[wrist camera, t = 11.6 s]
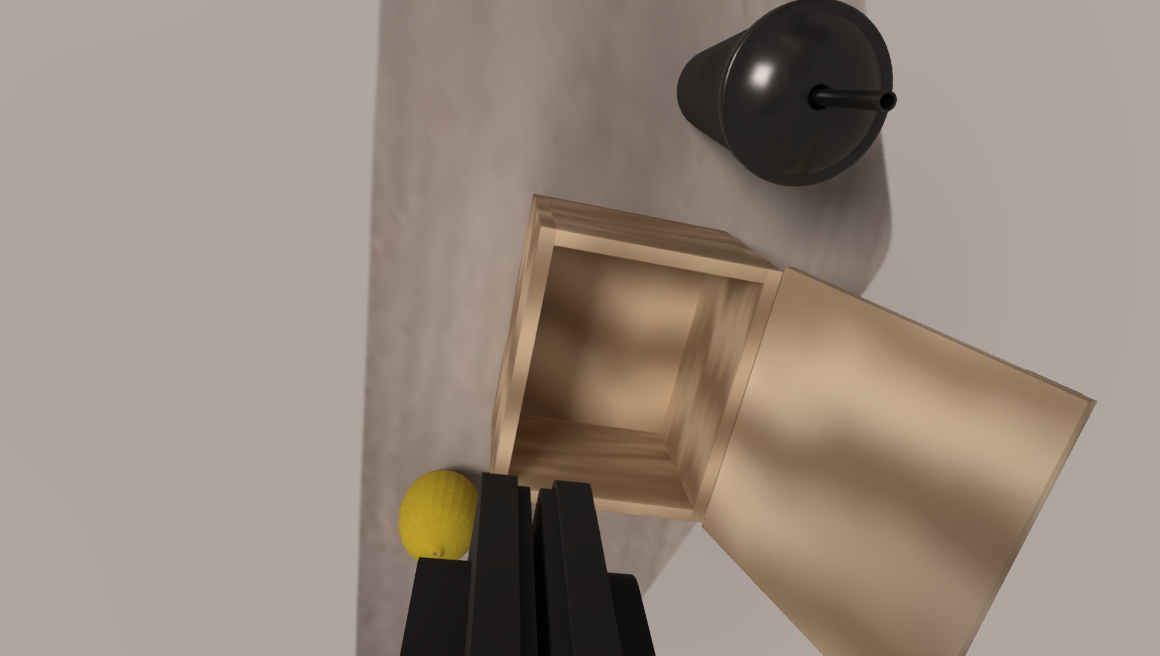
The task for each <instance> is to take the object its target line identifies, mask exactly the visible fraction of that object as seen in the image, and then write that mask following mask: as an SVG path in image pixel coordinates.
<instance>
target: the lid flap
mask: <svg viewBox="0 0 1160 656" xmlns="http://www.w3.org/2000/svg"><path fill="white" fill-rule="evenodd" d="M1096 402H1097V401H1095V400H1093V399H1091V398H1088V397H1086V396H1084V395H1083V394H1081V393H1079V392H1077V391H1074V390H1072V389H1070V388H1067V387H1065V386H1063V385H1060V384H1058V383H1056V382H1054V381H1051V380H1049V379H1047V378H1044V377H1043V376H1040V375H1038V374H1036V373H1033V372H1031V371H1029V370H1025V369H1023V368H1021V367H1018V366H1016V365H1014V364H1011V363H1009V362H1007V361H1005V360H1002V359H1000V358H998V357H995V356H993V355H991V354H989V353H986V352H984V351H982V350H980V349H978V348H975V347H973V346H971V345H968V344H966V343H964V342H962V341H959V340H957V339H955V338H952V337H950V336H948V335H946V334H943V333H941V332H939V331H937V330H934V329H932V328H930V327H927V326H925V325H923V324H921V323H919V322H916V321H914V320H912V319H909V318H907V317H905V316H902V315H900V314H898V313H896V312H893V311H891V310H889V309H887V308H884V307H882V306H880V305H877V304H875V303H873V302H871V301H869V300H866V299H864V298H862V297H860V296H857V295H855V294H853V293H850V292H848V291H846V290H844V289H841V288H839V287H837V286H835V285H832V284H830V283H828V282H826V281H823V280H821V279H819V278H816V277H814V276H812V275H810V274H807V273H805V272H803V271H801V270H798V269H796V268H794V267H785V270H784V273H783V276H782V279H781V282H780V285H779V288H778V292H777V295H776V298H775V301H774V304H773V307H772V310H771V313H770V316H769V319H768V323H767V326H766V329H765V332H764V335H763V338H762V341H761V344H760V347H759V350H758V354H757V357H756V360H755V363H754V366H753V369H752V372H751V375H750V378H749V381H748V385H747V388H746V391H745V394H744V397H743V400H742V403H741V406H740V409H739V412H738V416H737V419H736V422H735V425H734V428H733V431H732V434H731V437H730V440H729V443H728V447H727V450H726V453H725V456H724V459H723V462H722V465H721V468H720V471H719V474H718V478H717V481H716V484H715V487H714V490H713V493H712V496H711V499H710V502H709V505H708V509H707V512H706V515H705V518H704V521H703V524H702V527H703V528H704V529H705V531H706V532H707V533H709V535H710V536H711V537H712V538H713V539H714V540H715V541H716V542H717V543H718V544H719V545H720V546H721V548H723V550H724V551H725V552H726V553H727V554H728V555H729V556H730V557H731V558H732V559H733V560H734V561H735V562H736V563H737V564H738V565H739V567H740V568H741V569H742V570H743V571H744V572H745V573H746V574H747V575H748V576H749V577H750V578H751V579H752V580H753V581H754V582H755V584H756V585H757V586H758V587H759V588H760V589H761V590H762V591H763V592H764V593H765V594H766V595H767V596H768V597H769V598H770V599H771V600H772V601H773V603H774V604H775V605H776V606H777V607H778V608H779V609H780V610H781V611H782V612H783V613H784V614H785V615H786V616H787V617H788V618H789V620H790V621H791V622H793V624H794V625H795V626H796V627H797V628H798V629H799V630H800V631H801V632H802V633H803V634H804V635H805V636H806V638H808V640H809V641H810V642H811V643H812V644H813V645H814V646H815V647H816V648H817V649H818V650H819V651H820V652H821V653H822V654H823V656H965V655H966V653H967V651H968V649H969V647H970V645H971V643H972V641H973V639H974V637H975V636H976V634H977V632H978V630H979V628H980V625H981V623H982V622H983V620H984V618H985V616H986V614H987V612H988V610H989V609H990V607H991V605H992V603H993V601H994V599H995V597H996V595H997V593H998V591H999V589H1000V587H1001V585H1002V583H1003V582H1004V580H1005V578H1006V576H1007V574H1008V572H1009V570H1010V568H1011V566H1012V564H1013V562H1014V560H1015V558H1016V557H1017V555H1018V553H1019V551H1020V549H1021V547H1022V545H1023V543H1024V541H1025V539H1026V537H1027V535H1028V533H1029V532H1030V530H1031V528H1032V526H1033V524H1034V522H1035V520H1036V518H1037V516H1038V514H1039V512H1040V510H1041V508H1042V507H1043V504H1044V502H1045V501H1046V499H1047V497H1048V495H1049V493H1050V491H1051V489H1052V487H1053V485H1054V483H1055V481H1056V480H1057V477H1058V476H1059V474H1060V472H1061V470H1062V468H1063V466H1064V464H1065V462H1066V460H1067V458H1068V456H1069V454H1070V453H1071V450H1072V449H1073V447H1074V445H1075V443H1076V441H1077V439H1078V437H1079V435H1080V433H1081V431H1082V429H1083V427H1084V426H1085V424H1086V422H1087V420H1088V418H1089V416H1090V414H1091V412H1092V410H1093V408H1094V406H1095V404H1096Z"/></svg>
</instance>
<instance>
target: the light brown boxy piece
mask: <svg viewBox="0 0 1160 656" xmlns="http://www.w3.org/2000/svg"><path fill="white" fill-rule="evenodd" d="M782 274H783V272H782V271H781V270H779V269H778V268H777V267H775V266H774V265H772V264H771V263H770V262H768V261H767V260H765V259H764V258H762V257H761V256H760V255H758V254H757V253H755V252H754V251H752V250H751V249H750V248H748V247H747V246H745V245H744V244H742V243H741V242H740V241H738V240H737V239H735V238H734V237H733V236H731V235H730V234H728V233H727V232H725V231H721V230H716V229H711V228H706V227H701V226H695V225H690V224H685V223H680V222H675V221H670V220H665V219H660V218H655V217H649V216H644V215H639V214H634V213H629V212H624V211H619V210H614V209H609V208H603V207H598V206H593V205H588V204H583V203H578V202H573V201H568V200H563V199H557V198H552V197H547V196H542V195H537V194H534V195H533V200H532V205H531V211H530V216H529V222H528V227H527V232H526V238H525V243H524V248H523V254H522V259H521V265H520V270H519V275H518V281H517V286H516V291H515V297H514V302H513V308H512V313H511V318H510V324H509V329H508V335H507V340H506V345H505V351H504V356H503V361H502V367H501V372H500V378H499V383H498V388H497V394H496V399H495V404H494V410H493V415H492V439H491V462H490V473H495V474H505V475H515V476H517V477H518V486H528V487H530V490H531V503H537V498H538V493H539V490H540V488H548V489H552V485H553V482H554V481H555V480H562V481H572V482H581V483H589V484H590V485H591V489H592V494H593V499H594V505H595V510H598V511H607V512H616V513H624V514H633V515H641V516H650V517H659V518H667V519H676V520H684V521H693V522H703V519H704V516H705V513H706V510H707V507H708V503H709V500H710V497H711V494H712V491H713V488H714V485H715V482H716V479H717V476H718V472H719V469H720V466H721V463H722V460H723V457H724V454H725V451H726V448H727V445H728V441H729V438H730V435H731V432H732V429H733V426H734V423H735V420H736V417H737V413H738V410H739V407H740V404H741V401H742V398H743V395H744V392H745V389H746V386H747V382H748V379H749V376H750V373H751V370H752V367H753V364H754V361H755V358H756V355H757V351H758V348H759V345H760V342H761V339H762V336H763V333H764V330H765V327H766V323H767V320H768V317H769V314H770V311H771V308H772V305H773V302H774V299H775V296H776V292H777V289H778V286H779V283H780V280H781V277H782Z"/></svg>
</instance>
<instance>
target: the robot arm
mask: <svg viewBox="0 0 1160 656" xmlns="http://www.w3.org/2000/svg"><path fill="white" fill-rule="evenodd" d="M400 656H656V655H655V651H654V647H653V643H652V639H651V635H650V631H649V626H648V623H647V618H646V614H645V610H644V606H643V602H642V598H641V594H640V590H639V586H638V583H637V580H636V578H635V577H634V576H633V575H631V574H619V573H607V568H606V563H605V558H604V552H603V547H602V542H601V536H600V531H599V526H598V521H597V515H596V510H595V505H594V499H593V494H592V489H591V485H590V484H589V483H581V482H572V481H562V480H555V481H554V482H553V485H552V489H548V488H540V490H539V493H538V498H537V503H536V508H535V513H534V518H533V524H532V511H531V490H530V487H528V486H518V477H517V476H515V475H505V474H495V473H486V472H482V476H481V481H480V487H479V494H478V500H477V506H476V512H475V519H474V525H473V531H472V538H471V544H470V550H469V557H468V561H463V560H451V559H439V558H427V557H419V559H418V563H417V568H416V574H415V579H414V584H413V589H412V595H411V600H410V605H409V611H408V616H407V621H406V626H405V632H404V637H403V642H402V648H401V653H400Z"/></svg>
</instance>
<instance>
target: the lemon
mask: <svg viewBox="0 0 1160 656" xmlns="http://www.w3.org/2000/svg"><path fill="white" fill-rule="evenodd" d="M477 500H478V493H477V490H476V488H475V487H474V486H473V484H472V483H471V482H470V480H468V479H467V478H466V477H464V476H463V475H462V474H459V473H457V472H455V471H450V470H436V471H432V472H429V473H427V474H425V475H423V476H421V477H420V478H419V479H417V480H416V481H415V482H414V483H413V484H412V485H411V486H410V488H409V489H408V491H407V492H406V494H405V495H404V498H403V500H402V503H401V507H400V510H399V533H400V537H401V540H402V543H403V546H404V547H405V549H406V550H407V552H408V553H409V554H410V555H411V556H412V557H413V558H414V559H415V560H417V561H418V559H419V557H427V558H439V559H451V560H458V559H459V558H461V557H462V556H463V555H464V554H465V553H466V552H467V551H468V550H469V549H470V544H471V538H472V531H473V525H474V519H475V512H476V506H477Z"/></svg>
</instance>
